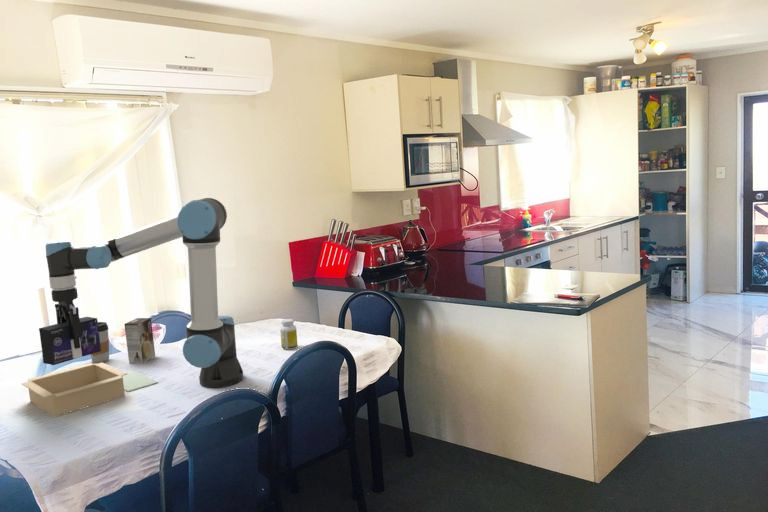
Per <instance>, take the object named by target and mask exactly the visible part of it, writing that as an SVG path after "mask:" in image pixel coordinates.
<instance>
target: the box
mask: <svg viewBox="0 0 768 512" xmlns="http://www.w3.org/2000/svg"><path fill="white" fill-rule="evenodd" d="M79 319H80V324H81V330H82V337H80V343H81V351H82V357H86V356H91V354H93V353H97V352H100V351H101V346H100V338H99V329H98V322H99V321H98V318H97V317H91V316H84V317H79ZM38 331H39V339H40V345H41V353H42V363H43V364H46V365H52V366H56V365H59V364H63V363H65V362H70V361H73V360H76V359H77V358H75V359H73V355H72V348H71V340H69V339H70V338H71V334H70V331H69V325H68V323H67V322H64V323H59V324H57V323H55V324H51V325H46V326H43V327H39V328H38ZM82 357H79V358H82ZM79 358H78V359H79Z"/></svg>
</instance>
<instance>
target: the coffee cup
mask: <svg viewBox="0 0 768 512" xmlns="http://www.w3.org/2000/svg"><path fill="white" fill-rule="evenodd" d="M98 329H99V338H100V346H101V351H100V352H97V353H93V354H90V357H91V361H92V363H93V362H94V363H93V364H98V363H106V362H108V361H109V359H110V339H109V325H108V324H107V322H105V321H98Z"/></svg>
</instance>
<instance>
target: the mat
mask: <svg viewBox="0 0 768 512" xmlns="http://www.w3.org/2000/svg"><path fill="white" fill-rule="evenodd" d="M124 372H125V373H127V375H123V384H124V392H127V393H129V392H132V391H136V390H139V389H142V388H145V387H150V386H153V385H156V384H159V381H157V380H155V379H152V378H150V377H148V376H145V375H143V374H141V373H138V372H136V371H134V370H128V371H124Z"/></svg>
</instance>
